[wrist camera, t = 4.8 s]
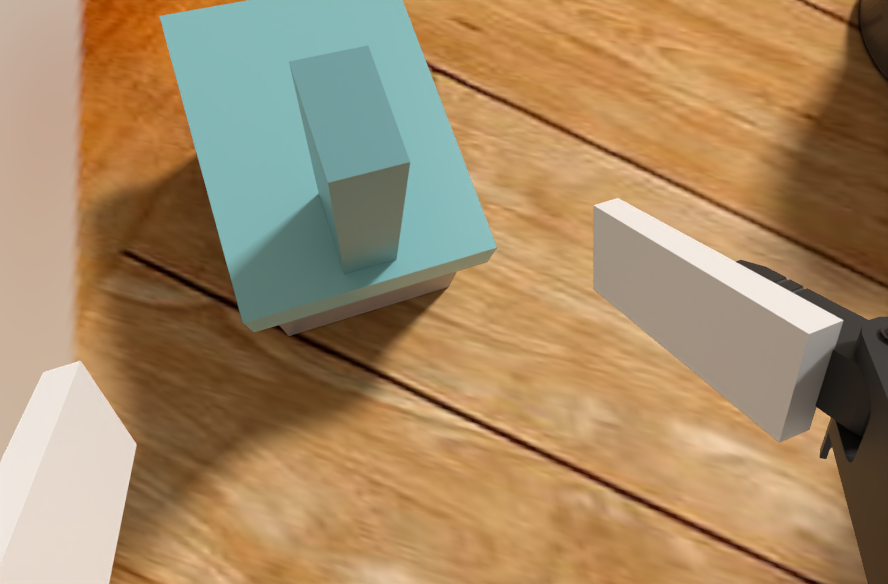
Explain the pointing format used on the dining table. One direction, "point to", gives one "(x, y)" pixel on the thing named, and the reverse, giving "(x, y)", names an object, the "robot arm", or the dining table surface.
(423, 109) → the lid
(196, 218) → the dining table surface
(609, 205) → the robot arm
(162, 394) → the dining table surface
